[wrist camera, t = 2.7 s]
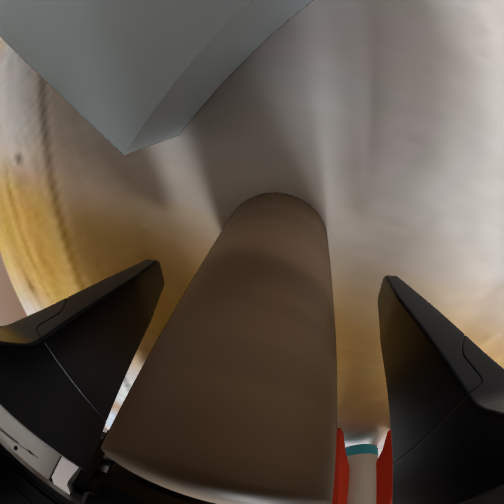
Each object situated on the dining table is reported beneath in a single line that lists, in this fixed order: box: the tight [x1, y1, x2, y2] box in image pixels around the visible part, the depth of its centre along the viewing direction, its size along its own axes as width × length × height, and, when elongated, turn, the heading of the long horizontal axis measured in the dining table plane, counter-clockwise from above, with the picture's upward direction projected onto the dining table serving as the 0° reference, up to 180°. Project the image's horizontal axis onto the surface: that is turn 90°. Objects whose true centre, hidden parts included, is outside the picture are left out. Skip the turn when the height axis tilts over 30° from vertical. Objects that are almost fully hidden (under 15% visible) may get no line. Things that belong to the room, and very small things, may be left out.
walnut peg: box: [101, 193, 337, 504], centre depth 7 cm, size 4×4×9 cm
